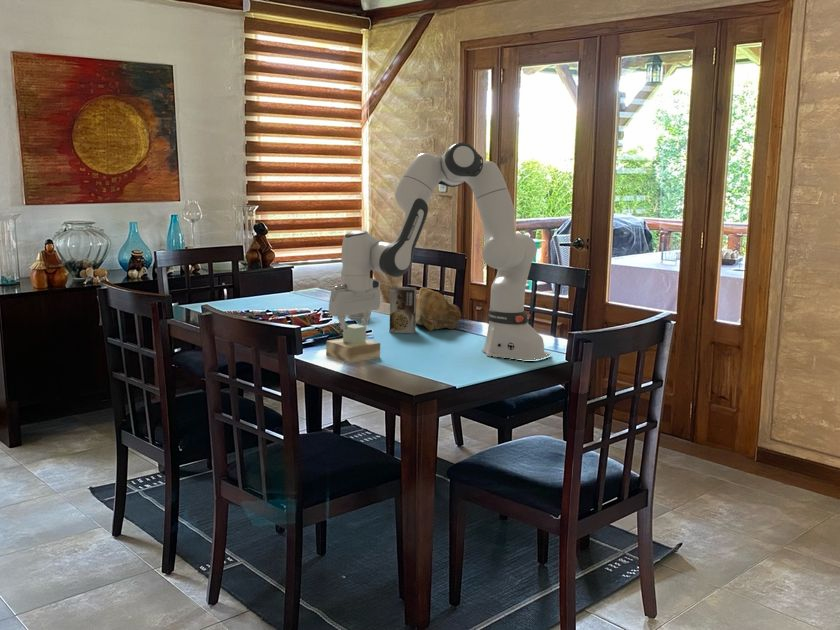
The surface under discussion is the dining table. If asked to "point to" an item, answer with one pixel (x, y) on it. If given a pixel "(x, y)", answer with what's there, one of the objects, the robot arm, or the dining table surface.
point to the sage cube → (354, 334)
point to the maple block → (352, 350)
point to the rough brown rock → (435, 310)
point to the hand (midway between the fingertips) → (354, 327)
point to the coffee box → (402, 309)
